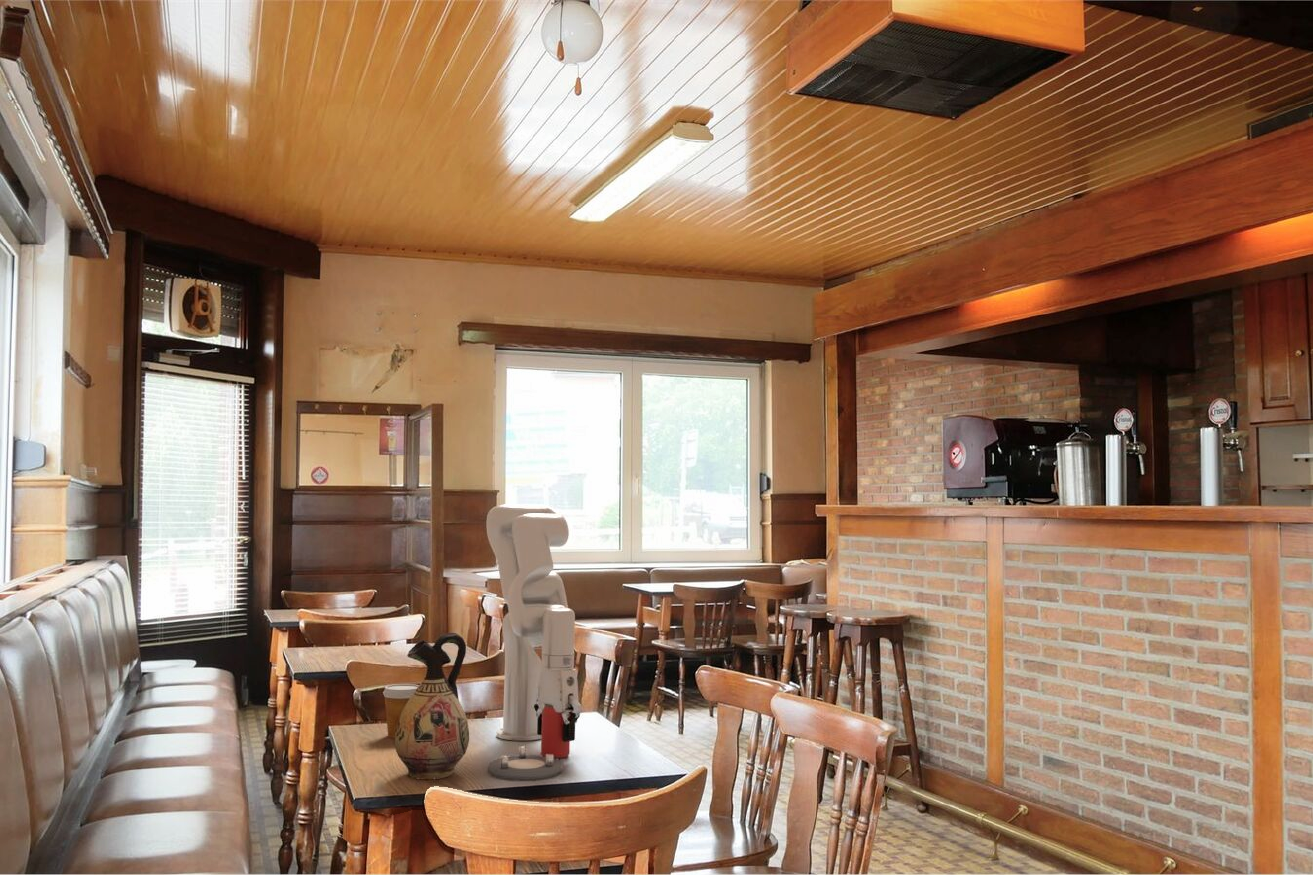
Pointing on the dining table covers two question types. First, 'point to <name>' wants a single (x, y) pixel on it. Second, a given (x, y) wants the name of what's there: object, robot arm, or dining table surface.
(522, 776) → the pin plate
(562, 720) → the beer can
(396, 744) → the ceramic jug
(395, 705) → the disposable coffee cup
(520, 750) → the steel pins
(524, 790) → the dining table surface
